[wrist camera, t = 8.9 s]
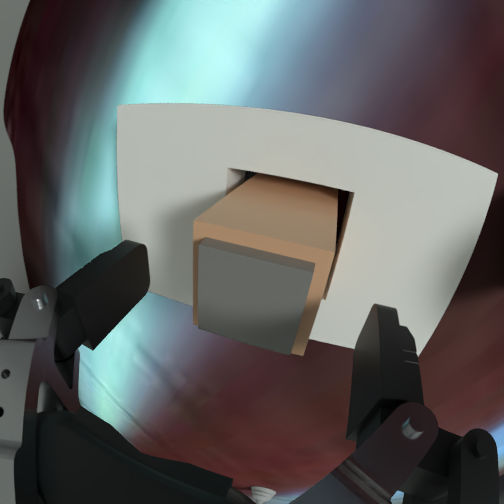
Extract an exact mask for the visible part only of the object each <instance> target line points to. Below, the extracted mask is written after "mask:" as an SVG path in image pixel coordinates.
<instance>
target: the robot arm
mask: <svg viewBox="0 0 504 504" xmlns="http://www.w3.org/2000/svg"><path fill="white" fill-rule="evenodd" d="M149 286H150V272H149V262H148V251H147V247H146V245H144V244H142V243H138V242H134V241H131V240H124V241H123V242H121V243H120V244H119V245H117V246H116V247H114V248H113V249H112V250H109V251H107V252H104V253H102V254H100V255H98V256H97V257H96V258H94V259H93V260H92V261H91V263H90V262H89V263H88V264H86V265H85V266H84V267H83V268H81V269H80V270H78V271H77V272H76V273H74V274H73V275H72V276H70V277H69V278H68V279H67V280H65V281H64V282H63V283H61V284H60V285H59V286H58V287H56V288H55V289H54V288H53V287H51V286H38V287H35V288H33V289H31V290H30V291H28V292H27V293H26V294H22V293H17V292H15V289H14V287H13V284H12V282H11V280H10V279H7V278H1V279H0V333H1V334H2V336H3V337H2V338H1V339H0V504H256V503H255V502H253V501H252V500H251V499H250V498H249V497H248V496H246V495H245V494H243V493H242V492H241V491H239V490H237V489H236V488H234V487H232V482H233V479H232V478H229V477H226V476H223V475H220V474H217V473H214V472H211V471H208V470H205V469H203V468H200V467H197V466H195V465H192V464H190V463H184V462H179V461H173V460H168V459H163V458H159V457H154V456H150V455H146V454H143V453H141V452H140V451H139V450H137V449H136V448H135V447H134V446H133V445H132V444H131V443H130V442H128V441H127V440H126V439H125V438H124V437H123V436H122V435H121V434H120V433H119V432H118V431H117V430H116V429H115V428H114V427H113V426H112V425H110V424H109V423H107V422H105V421H104V420H102V419H100V418H99V417H97V416H96V415H94V414H92V413H91V412H89V411H88V410H86V409H85V408H83V407H82V406H81V405H80V402H79V398H78V381H79V361H80V352H79V349H78V348H79V347H80V346H81V345H82V344H83V345H84V346H86V347H88V348H90V349H91V350H94V349H95V348H96V347H97V346H98V345H99V344H100V343H101V341H102V340H103V339H104V338H105V337H106V336H107V335H108V334H109V333H110V332H111V331H112V330H113V329H114V327H115V326H116V325H117V324H118V323H119V322H120V321H121V320H122V319H123V318H124V317H125V316H126V315H127V314H128V313H129V312H130V311H131V309H132V308H133V307H134V306H135V305H136V304H137V303H138V302H139V301H140V300H141V299H142V298H143V297H144V296H145V295H146V293H147V292H148V289H149ZM416 353H417V349H416V344H415V339H414V337H413V335H412V334H411V332H410V331H409V329H408V328H407V327H406V326H402V325H400V324H399V318H398V312H397V309H396V308H393V307H389V306H384V305H380V304H376V303H375V304H373V306H372V308H371V310H370V312H369V314H368V317H367V319H366V321H365V323H364V326H363V328H362V330H361V332H360V334H359V336H358V339H357V342H356V345H355V349H354V355H353V371H352V385H351V397H350V407H349V416H348V425H347V433H346V440H353V441H357V443H356V450H355V451H354V452H353V453H352V454H351V455H350V456H349V457H348V458H347V459H346V460H344V461H343V462H342V463H341V464H340V465H339V466H337V467H336V468H335V469H334V470H333V471H332V472H330V473H329V474H328V475H327V476H325V477H324V478H323V479H322V480H320V481H319V482H318V483H317V484H315V485H314V486H313V487H311V488H310V489H309V490H307V491H306V492H305V493H303V494H302V495H300V496H299V497H298V498H296V499H295V500H293V501H292V502H290V503H289V504H392V502H391V501H390V500H391V498H392V496H393V495H394V494H395V493H396V491H397V490H398V491H401V492H404V497H403V503H402V504H499V470H498V454H497V446H496V443H495V440H494V438H493V437H492V436H491V435H490V433H488V432H487V431H485V430H483V429H479V428H478V429H472V430H470V431H469V432H468V433H467V434H465V435H464V436H463V437H461V436H458V435H456V434H453V433H451V432H448V431H445V430H443V429H441V428H439V427H438V422H437V419H436V417H435V415H434V414H433V412H432V411H431V410H430V409H429V408H427V407H426V406H424V401H423V391H422V383H421V375H420V368H419V365H418V355H417V354H416Z"/></svg>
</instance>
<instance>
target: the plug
mask: <svg viewBox="0 0 504 504" xmlns="http://www.w3.org/2000/svg"><path fill="white" fill-rule="evenodd" d="M337 209H338V189H336V188H331V187H327V186H323V185H318V184H314V183H309V182H304V181H299V180H294V179H289V178H284V177H279V176H274V175H269V174H263V173H257V174H256V175H254V176H253V177H251V178H250V179H249V180H247V181H246V182H244V183H243V184H242V185H240V186H239V187H237V188H236V189H235V190H233V191H232V192H231V193H229V194H228V195H226V196H225V197H224V198H222V199H221V200H220V201H218V202H217V203H216V204H214V205H213V206H212V207H210V208H209V209H208V210H206V211H205V212H204V213H202V214H201V215H200V216H198V217H197V218H196V219H194V222H193V324H195V325H198V328H199V329H202V330H205V331H208V332H211V333H214V334H217V335H221V336H224V337H227V338H230V339H233V340H237V341H240V342H244V343H247V344H250V345H254V346H257V347H261V348H265V349H268V350H272V351H276V352H279V353H283V354H287V355H290V354H291V353H293V354H297V355H302V356H303V354H304V351H305V348H306V345H307V343H308V340H309V337H310V334H311V331H312V328H313V325H314V322H315V319H316V315H317V312H318V309H319V306H320V303H321V300H322V296H323V293H324V290H325V286H326V283H327V280H328V276H329V273H330V269H331V266H332V262H333V258H334V255H335V247H336V230H337Z"/></svg>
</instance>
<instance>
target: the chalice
mask: <svg viewBox="0 0 504 504" xmlns="http://www.w3.org/2000/svg"><path fill="white" fill-rule="evenodd" d="M251 489H252V497H253V499H255V500H256V504H262V503H263V502H267V501H269V500H270V499H271V498H272V497H273V495H275V494H276V492H275V491H273V490H270V489H267V488H263V487H255V486H254V487H251Z"/></svg>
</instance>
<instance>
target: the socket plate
mask: <svg viewBox="0 0 504 504" xmlns="http://www.w3.org/2000/svg"><path fill="white" fill-rule="evenodd" d="M245 170H247V171H253V172H259V173H264V174H270V175H275V176H281V177H286V178H291V179H296V180H301V181H306V182H311V183H315V184H320V185H325V186H329V187H333V188H338V189H342V190H346V191H349V196H348V200H347V204H346V209H345V213H344V217H343V221H342V225H341V229H340V233H339V237H338V241H337V245H336V249H335V255H334V258H333V262H332V266H331V269H330V273H329V276H328V280H327V283H326V286H325V290H324V293H323V296H322V300H321V303H320V306H319V309H318V312H317V315H316V319H315V322H314V325H313V328H312V331H311V334H310V337H309V339H313V340H317V341H322V342H326V343H330V344H335V345H339V346H344V347H349V348H353V349H355V345H356V342H357V339H358V336H359V334H360V332H361V330H362V328H363V326H364V323H365V321H366V319H367V317H368V314H369V312H370V310H371V308H372V306H373V304H375V303H376V304H380V305H384V306H389V307H393V308H396V309H397V312H398V318H399V324H400V325H402V326H406V327H407V328H408V329H409V331H410V332H411V334H412V335H413V337H414V339H415V344H416V349H417V353H416V354H417V355H418V356H419V354H420V353H421V351H422V350H423V348H424V347H425V345H426V343H427V342H428V340H429V338H430V337H431V335H432V333H433V332H434V330H435V328H436V327H437V325H438V323H439V321H440V319H441V318H442V316H443V314H444V312H445V310H446V308H447V306H448V305H449V303H450V301H451V299H452V297H453V295H454V293H455V291H456V289H457V287H458V285H459V282H460V280H461V278H462V276H463V274H464V271H465V269H466V267H467V265H468V262H469V260H470V258H471V255H472V253H473V250H474V248H475V245H476V243H477V240H478V237H479V235H480V232H481V229H482V226H483V223H484V221H485V218H486V215H487V211H488V208H489V205H490V202H491V198H492V195H493V191H494V188H495V184H496V180H497V176H498V174H497V173H495V172H493V171H491V170H489V169H487V168H485V167H482V166H480V165H478V164H476V163H473V162H471V161H468V160H466V159H464V158H461V157H459V156H456V155H453V154H451V153H448V152H446V151H443V150H440V149H437V148H434V147H432V146H429V145H426V144H423V143H420V142H417V141H414V140H410V139H407V138H404V137H401V136H397V135H394V134H390V133H387V132H383V131H379V130H376V129H372V128H368V127H364V126H360V125H355V124H351V123H347V122H342V121H337V120H332V119H327V118H322V117H317V116H311V115H305V114H299V113H293V112H286V111H279V110H271V109H263V108H254V107H243V106H231V105H216V104H193V103H149V104H128V105H118V111H117V180H118V200H119V214H120V226H121V236H122V242H123V241H124V240H131V241H134V242H138V243H142V244H144V245H146V247H147V251H148V262H149V272H150V286H149V289H148V291H149V292H152V293H155V294H158V295H161V296H164V297H167V298H170V299H173V300H176V301H179V302H182V303H185V304H188V305H191V306H193V222H194V219H196V218H197V217H198V216H200V215H201V214H202V213H204V212H205V211H206V210H208V209H209V208H210V207H212V206H213V205H214V204H216V203H217V202H218V201H220V200H221V199H222V198H224V197H225V196H226V195H228V194H229V193H231V192H232V191H233V190H235V189H236V188H237V187H239V186H240V185H242V184H243V183H244V180H245Z"/></svg>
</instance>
